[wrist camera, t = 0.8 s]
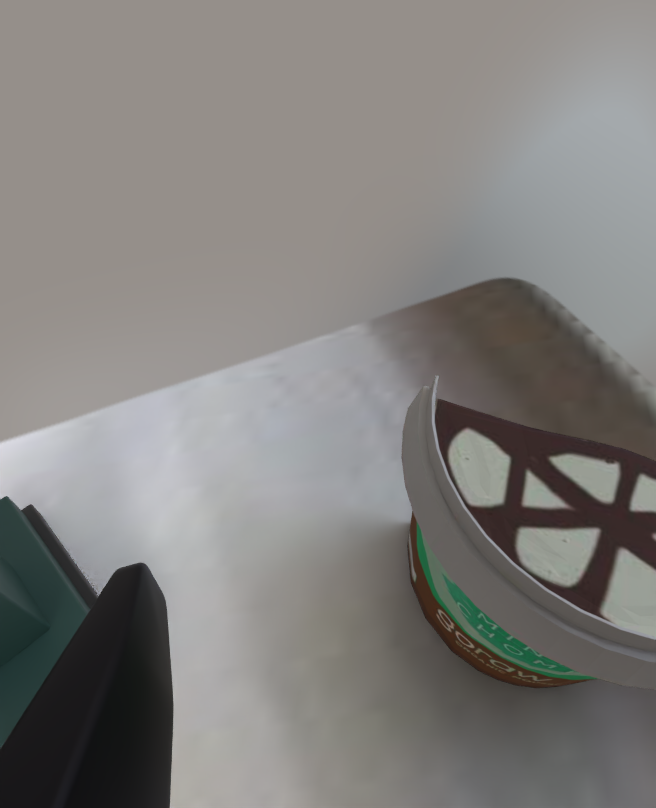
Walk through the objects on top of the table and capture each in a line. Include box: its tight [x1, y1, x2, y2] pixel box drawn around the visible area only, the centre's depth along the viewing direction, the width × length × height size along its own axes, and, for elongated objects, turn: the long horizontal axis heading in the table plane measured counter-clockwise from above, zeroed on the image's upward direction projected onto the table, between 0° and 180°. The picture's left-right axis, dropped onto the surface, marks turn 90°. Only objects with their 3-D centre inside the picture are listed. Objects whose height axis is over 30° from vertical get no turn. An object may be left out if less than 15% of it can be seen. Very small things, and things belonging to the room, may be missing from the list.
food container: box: [402, 375, 656, 690], centre depth 18 cm, size 12×6×10 cm, turn 70°
